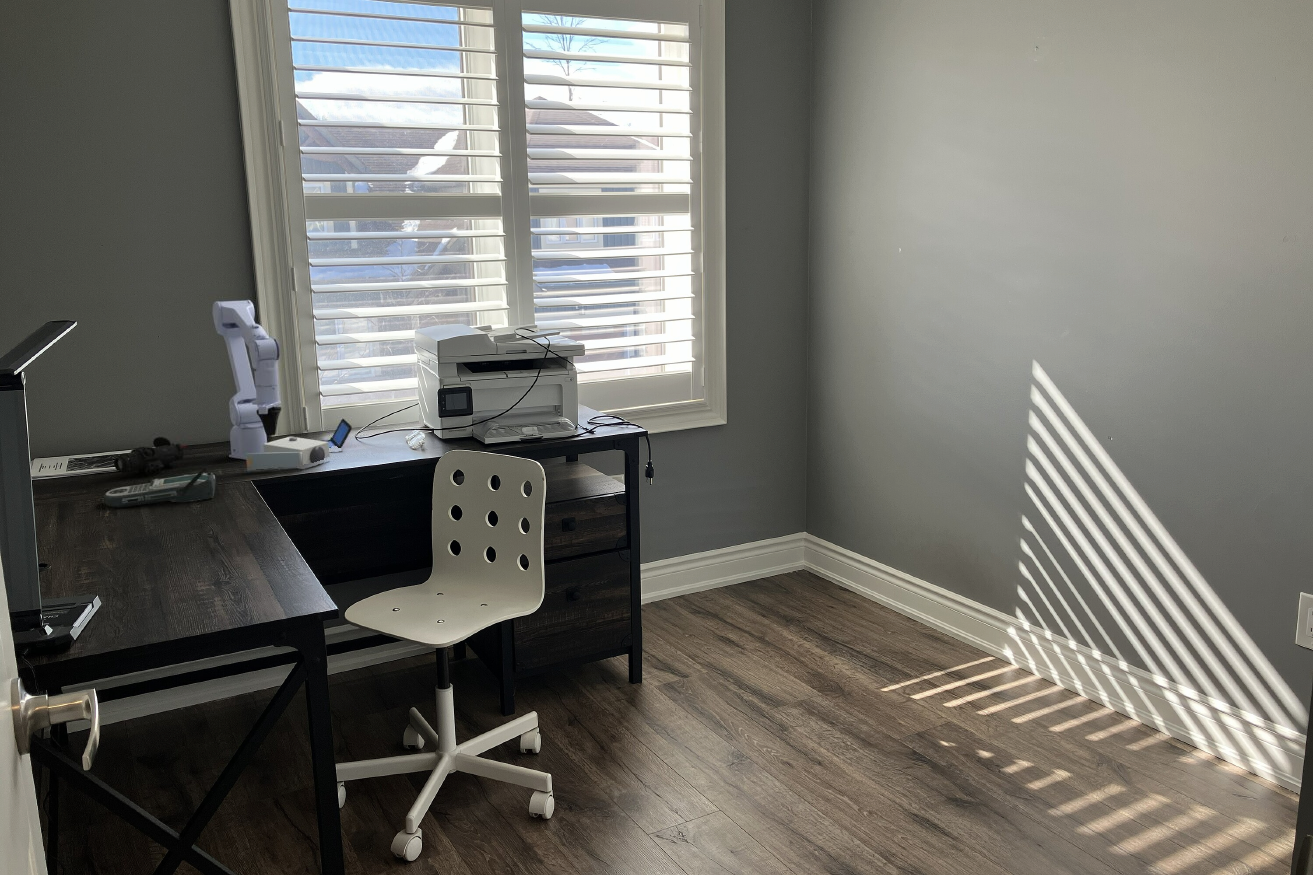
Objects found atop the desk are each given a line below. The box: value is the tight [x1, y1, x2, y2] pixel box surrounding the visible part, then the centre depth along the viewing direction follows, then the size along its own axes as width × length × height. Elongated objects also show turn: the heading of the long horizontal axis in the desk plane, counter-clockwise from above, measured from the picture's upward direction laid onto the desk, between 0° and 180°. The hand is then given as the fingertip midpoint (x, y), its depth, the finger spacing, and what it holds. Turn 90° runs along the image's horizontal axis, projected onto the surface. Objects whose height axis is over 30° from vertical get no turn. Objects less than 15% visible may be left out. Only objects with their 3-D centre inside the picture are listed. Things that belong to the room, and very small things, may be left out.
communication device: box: [103, 466, 217, 508], centre depth 236 cm, size 12×24×9 cm, turn 111°
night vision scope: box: [113, 436, 187, 476], centre depth 259 cm, size 8×18×10 cm
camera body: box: [263, 435, 331, 465], centre depth 270 cm, size 15×10×6 cm
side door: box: [246, 452, 303, 471], centre depth 261 cm, size 14×2×4 cm, turn 100°
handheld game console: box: [320, 418, 353, 448], centre depth 287 cm, size 12×11×7 cm
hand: (270, 435), depth 262 cm, fingers closed
